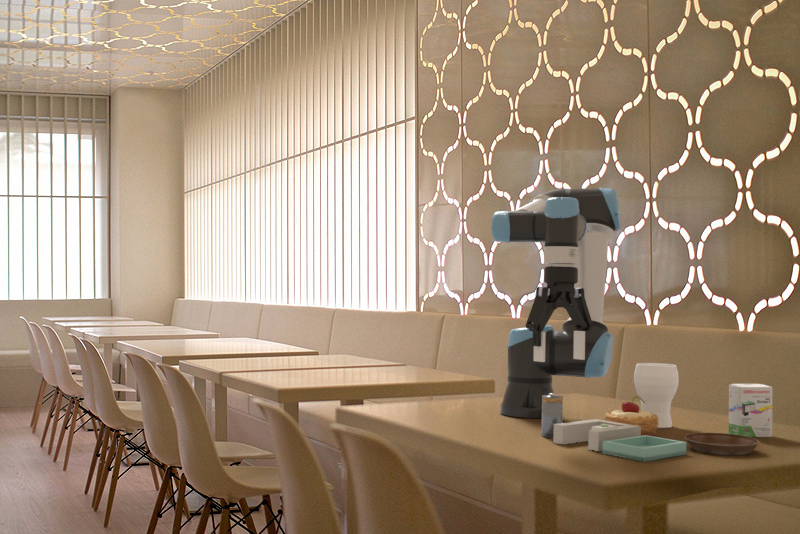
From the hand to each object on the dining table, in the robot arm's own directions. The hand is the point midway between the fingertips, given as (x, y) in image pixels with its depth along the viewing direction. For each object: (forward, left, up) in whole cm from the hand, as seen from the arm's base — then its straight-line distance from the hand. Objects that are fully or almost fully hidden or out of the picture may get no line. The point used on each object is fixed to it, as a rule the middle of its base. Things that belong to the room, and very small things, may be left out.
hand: (559, 360), depth 201 cm
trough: (+24, -1, -17) cm, 30 cm away
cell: (-1, -1, -17) cm, 17 cm away
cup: (+2, +33, -17) cm, 37 cm away
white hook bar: (+11, -1, -17) cm, 20 cm away
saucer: (+30, +17, -18) cm, 39 cm away
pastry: (+7, +17, -17) cm, 25 cm away
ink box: (+23, +40, -17) cm, 49 cm away
